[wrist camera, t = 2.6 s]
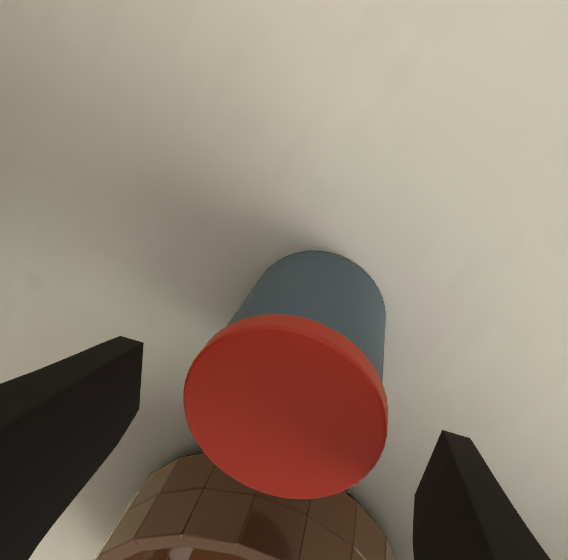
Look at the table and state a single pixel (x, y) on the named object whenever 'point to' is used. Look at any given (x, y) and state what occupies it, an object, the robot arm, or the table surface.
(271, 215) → the table surface
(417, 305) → the table surface
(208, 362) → the container
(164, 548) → the bowl
